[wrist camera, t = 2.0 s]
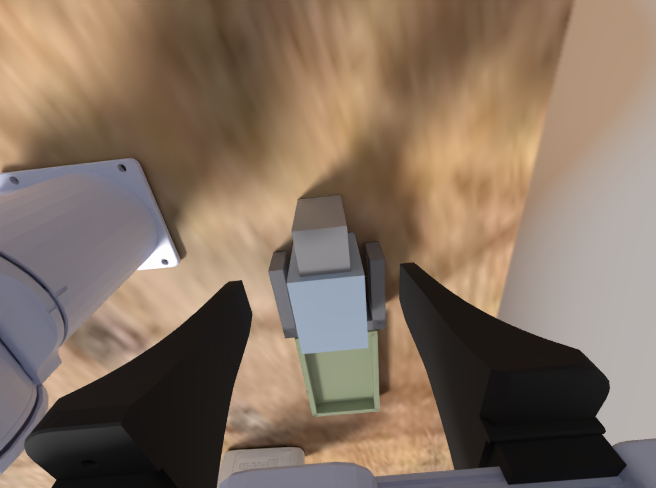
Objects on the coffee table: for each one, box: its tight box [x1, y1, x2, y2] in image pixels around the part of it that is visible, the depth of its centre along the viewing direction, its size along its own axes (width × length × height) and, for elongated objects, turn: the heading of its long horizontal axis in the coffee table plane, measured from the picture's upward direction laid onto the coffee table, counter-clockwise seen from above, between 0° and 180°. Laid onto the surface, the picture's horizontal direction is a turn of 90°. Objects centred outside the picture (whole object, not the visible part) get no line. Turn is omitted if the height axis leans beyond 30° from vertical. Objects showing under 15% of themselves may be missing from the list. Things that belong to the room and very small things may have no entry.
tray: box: [295, 330, 380, 417], centre depth 27 cm, size 7×12×2 cm, turn 6°
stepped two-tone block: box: [287, 195, 368, 354], centre depth 19 cm, size 4×9×6 cm, turn 6°
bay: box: [268, 242, 386, 338], centre depth 22 cm, size 8×6×2 cm
